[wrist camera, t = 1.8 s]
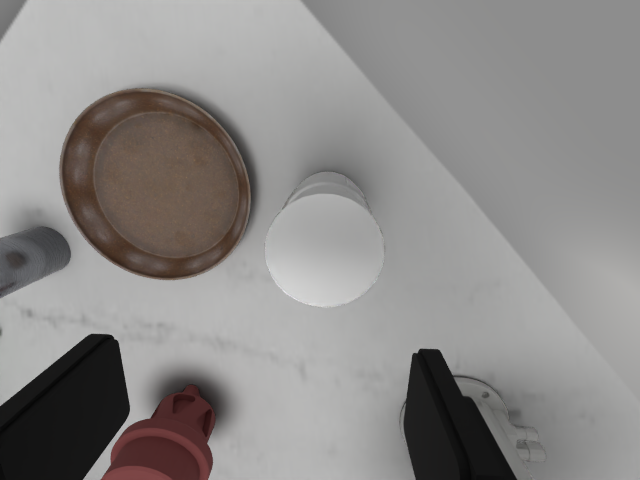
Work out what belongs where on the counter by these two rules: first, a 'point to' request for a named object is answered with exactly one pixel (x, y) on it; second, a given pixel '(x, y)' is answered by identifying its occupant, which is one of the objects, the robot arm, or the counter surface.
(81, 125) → the plant saucer
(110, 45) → the counter surface
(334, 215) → the white ribbed cylinder
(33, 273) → the metal pillar
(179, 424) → the mechanical component
